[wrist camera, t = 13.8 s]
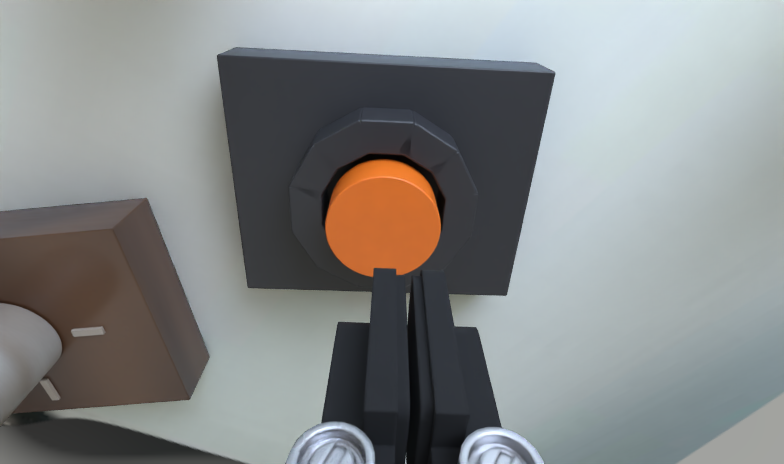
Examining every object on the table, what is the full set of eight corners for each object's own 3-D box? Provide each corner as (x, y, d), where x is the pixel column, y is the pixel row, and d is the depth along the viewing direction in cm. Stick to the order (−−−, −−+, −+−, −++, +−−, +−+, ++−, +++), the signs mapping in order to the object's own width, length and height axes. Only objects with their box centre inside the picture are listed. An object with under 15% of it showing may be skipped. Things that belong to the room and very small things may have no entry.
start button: (440, 160, 16) (447, 179, 14) (430, 255, 18) (435, 280, 16) (329, 156, 16) (323, 174, 14) (331, 251, 18) (326, 276, 16)
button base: (537, 62, 18) (575, 81, 14) (496, 269, 23) (517, 322, 19) (234, 47, 17) (196, 62, 14) (259, 262, 22) (235, 314, 19)
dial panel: (147, 197, 20) (110, 230, 17) (210, 357, 25) (188, 402, 22) (-126, 222, 21) (-205, 258, 18) (-12, 374, 25) (-60, 422, 23)
